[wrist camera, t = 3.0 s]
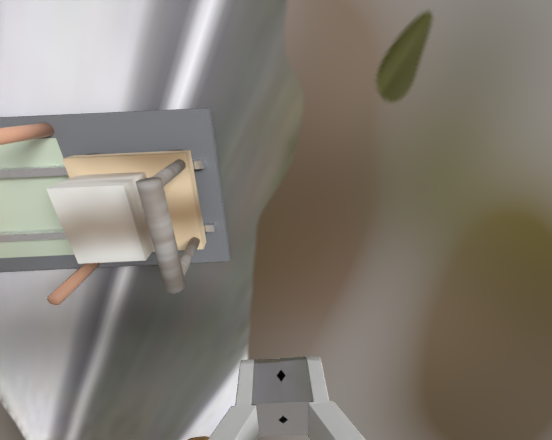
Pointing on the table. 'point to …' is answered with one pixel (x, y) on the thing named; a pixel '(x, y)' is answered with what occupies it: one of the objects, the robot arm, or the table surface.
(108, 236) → the tan box with handle
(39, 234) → the rails
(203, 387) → the table surface
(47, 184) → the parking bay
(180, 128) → the dock mat
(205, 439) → the flowerpot
